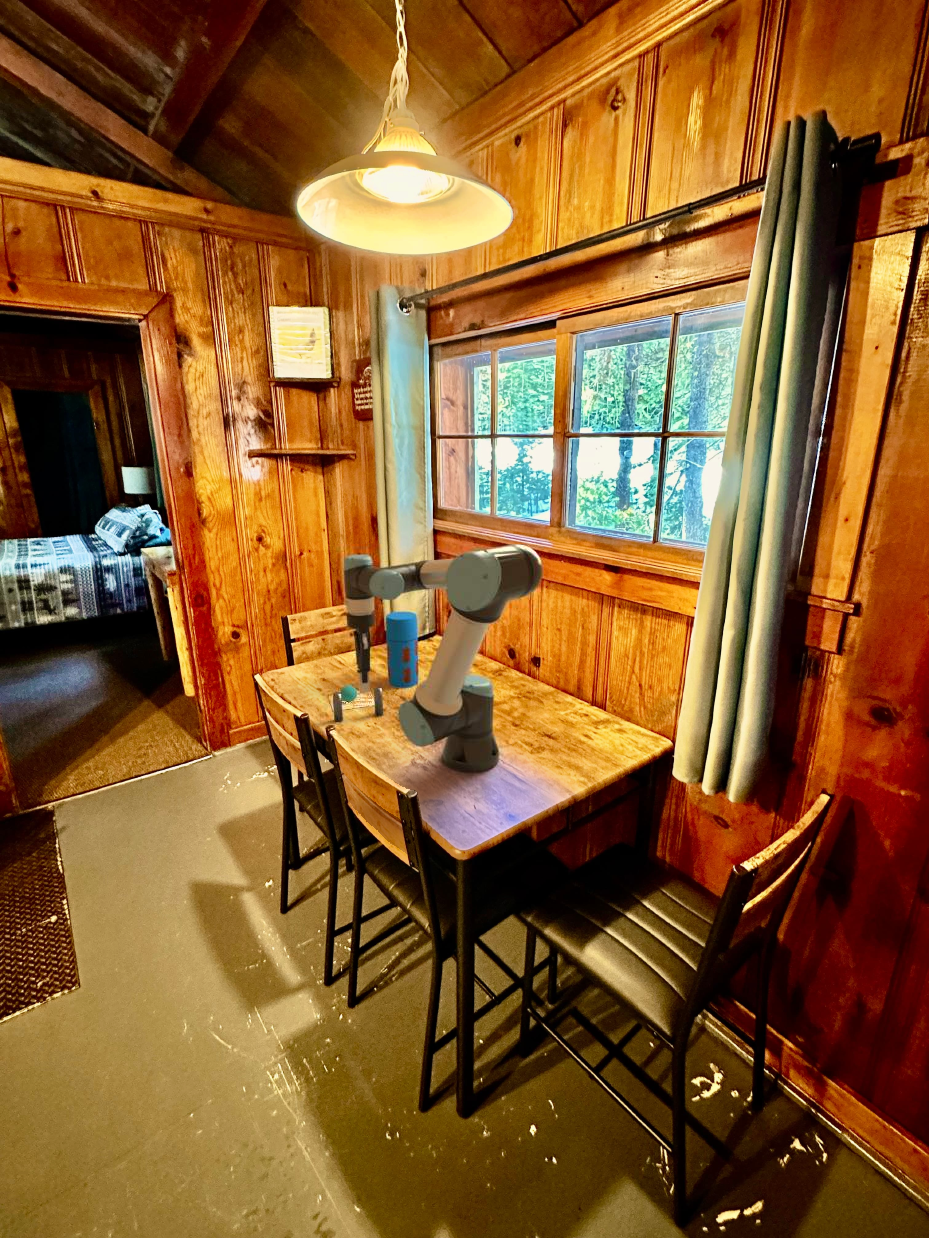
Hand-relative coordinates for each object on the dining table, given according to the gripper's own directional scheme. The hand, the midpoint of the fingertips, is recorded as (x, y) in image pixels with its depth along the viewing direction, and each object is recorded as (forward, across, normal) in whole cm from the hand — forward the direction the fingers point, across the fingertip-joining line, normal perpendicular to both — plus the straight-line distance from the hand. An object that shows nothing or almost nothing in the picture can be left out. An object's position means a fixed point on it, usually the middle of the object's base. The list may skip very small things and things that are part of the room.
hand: (364, 691), depth 163 cm
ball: (+11, -26, -1) cm, 29 cm away
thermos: (+14, -36, +20) cm, 44 cm away
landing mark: (+14, -27, 0) cm, 30 cm away
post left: (+14, -13, -6) cm, 20 cm away
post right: (+14, -13, +6) cm, 20 cm away
